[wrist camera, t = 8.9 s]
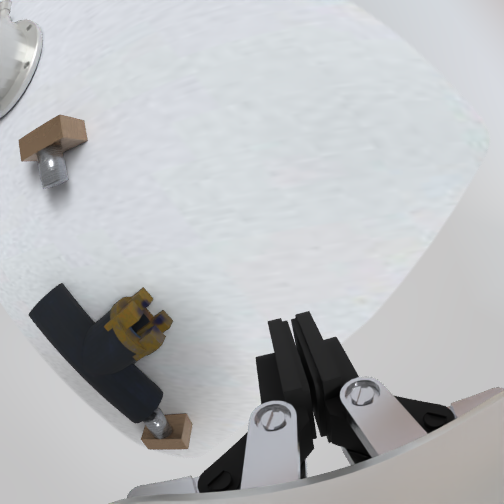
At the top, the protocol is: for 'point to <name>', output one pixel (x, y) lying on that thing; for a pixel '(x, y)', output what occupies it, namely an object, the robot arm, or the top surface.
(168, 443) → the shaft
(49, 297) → the pipe connector
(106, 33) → the top surface
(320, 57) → the top surface
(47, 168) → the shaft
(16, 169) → the top surface
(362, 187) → the top surface
